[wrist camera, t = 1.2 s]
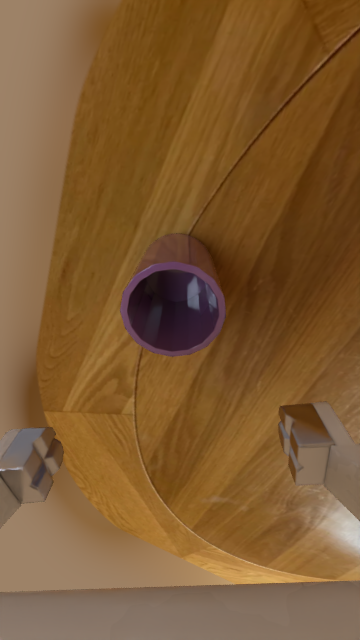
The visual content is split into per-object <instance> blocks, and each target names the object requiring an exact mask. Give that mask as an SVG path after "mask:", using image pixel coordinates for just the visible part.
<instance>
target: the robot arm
mask: <svg viewBox="0 0 360 640" xmlns="http://www.w3.org/2000/svg"><path fill="white" fill-rule="evenodd" d="M279 416H280V419H281V421H280V422H279V423H278V431H279V438H280V442H281V445H282V448H283V451H284V453H285V454H286V455H288V456H289V463H288V465H289V468H290V471H291V474H292V476H293V479H294V482H295V485H324V486H325V487H326V488H327V489H328V490H329V491H330V492H331V493H332V494H333V495H334V496H335V497H336V498H337V499H338V500H339V501H340V502H341V503H342V504H343V505H344V506H345V507H346V508H347V509H348V510H349V511H350V512H351V513H352V514H353V515H354V516H355V517H356V518H357V519H358V520H359V521H360V444H355V443H354V441H353V440H352V438H351V436H350V435H349V433H348V432H347V430H346V429H345V427H344V426H343V424H342V423H341V421H340V419H339V418H338V416H337V415H336V413H335V412H334V410H333V409H332V407H331V406H330V404H329V403H328V402H316V403H304V404H294V405H285V406H280V407H279ZM55 435H56V433H55V431H54V429H53V428H52V427H43V428H28V429H27V428H26V429H14V430H10V431H8V432H7V433H5V435H4V436H3V438H2V439H1V440H0V528H1V527H2V526H3V524H5V523H6V521H7V520H8V519H9V518H10V517H11V516H12V515H13V514H14V513H15V512H16V510H17V509H18V508H19V507H20V506H21V504H22V503H23V504H24V503H34V502H44V501H45V500H46V498H47V496H48V493H49V491H50V489H51V487H52V484H53V477H52V476H53V475H54V474H55V473H56V472H57V471H58V470H59V468H60V466H61V464H62V461H63V454H64V451H63V446H62V444H61V442H60V441H58V440H57V439H55V438H54V437H55ZM0 640H360V581H329V582H298V583H267V584H236V585H205V586H174V587H144V588H112V589H81V590H51V591H20V592H0Z"/></svg>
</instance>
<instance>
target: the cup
mask: <svg viewBox="0 0 360 640" xmlns="http://www.w3.org/2000/svg"><path fill="white" fill-rule="evenodd" d="M120 312H121V315H122V319H123V322H124V326H125V328H126V330H127V331H128V333H129V334H130V335H131V336H132V338H133V339H134V340H135V341H136V343H138V344H139V345H141V346H143V347H144V348H146V349H148V350H149V351H151V352H153V353H157V354H161V355H166V356H172V357H173V356H182V355H190V354H192V353H195V352H197V351H199V350H201V349H203V348H205V347H207V346H208V345H209V344H210V343H211V342H212V341H213V340H214V339H215V338H216V337H217V336H218V335H219V333H220V331H221V328H222V326H223V323H224V320H225V318H226V308H225V297H224V294H223V291H222V288H221V285H220V282H219V278H218V275H217V272H216V269H215V266H214V263H213V260H212V258H211V256H210V254H209V252H208V250H207V248H206V247H205V246H204V245H203V244H202V243H201V242H200V241H198V240H197V239H195V238H193V237H191V236H189V235H185V234H177V233H176V234H169V235H165V236H162V237H160V238H159V239H157V240H156V241H154V242H153V243H152V244H151V245H150V246H149V247H148V249H147V250H146V252H145V253H144V255H143V256H142V258H141V260H140V262H139V264H138V266H137V267H136V269H135V271H134V273H133V275H132V277H131V279H130V280H129V282H128V284H127V286H126V288H125V290H124V292H123V296H122V302H121V308H120Z"/></svg>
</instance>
